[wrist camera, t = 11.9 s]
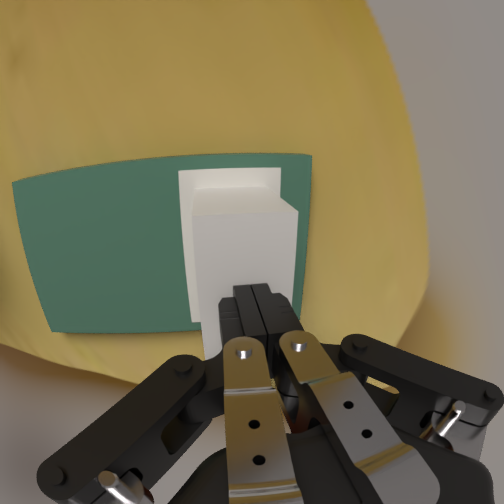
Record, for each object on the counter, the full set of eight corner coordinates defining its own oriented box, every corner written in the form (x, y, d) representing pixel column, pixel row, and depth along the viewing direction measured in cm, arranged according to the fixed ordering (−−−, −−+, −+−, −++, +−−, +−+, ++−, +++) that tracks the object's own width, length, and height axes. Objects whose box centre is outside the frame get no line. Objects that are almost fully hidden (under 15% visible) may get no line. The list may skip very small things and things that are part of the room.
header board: (57, 321, 19) (38, 355, 15) (22, 178, 15) (-14, 192, 11) (293, 309, 23) (312, 344, 19) (303, 153, 18) (333, 160, 14)
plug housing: (194, 188, 16) (191, 216, 11) (265, 186, 17) (298, 211, 11) (202, 309, 19) (207, 371, 14) (263, 304, 20) (285, 362, 15)
